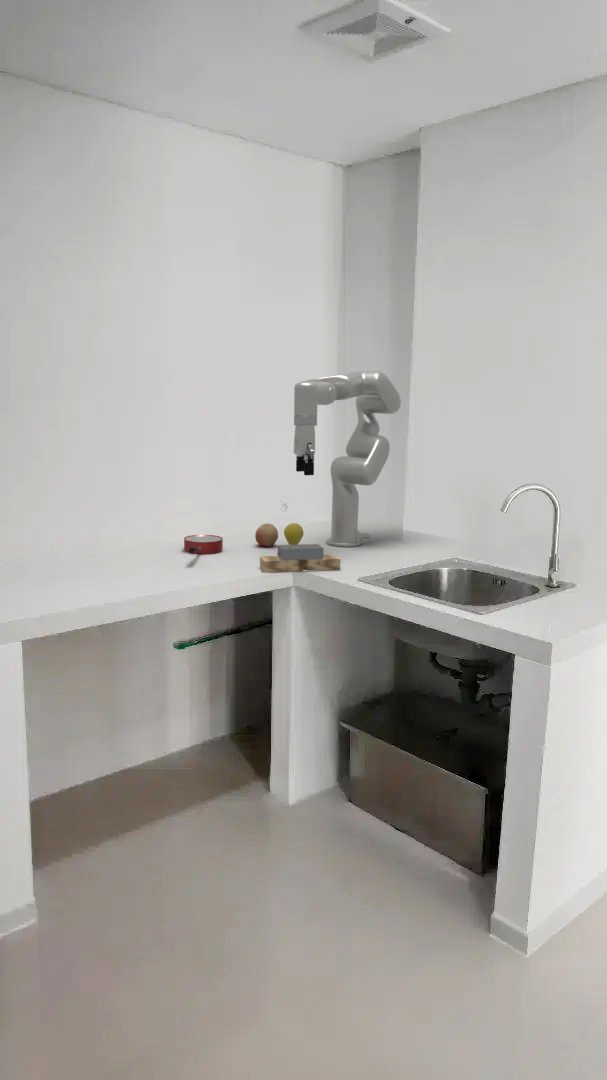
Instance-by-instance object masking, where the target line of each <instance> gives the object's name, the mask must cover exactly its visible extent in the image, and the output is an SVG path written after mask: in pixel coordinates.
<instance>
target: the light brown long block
mask: <svg viewBox="0 0 607 1080" xmlns="http://www.w3.org/2000/svg"><path fill="white" fill-rule="evenodd" d="M259 569H261V570H262V572H263V573H265V572H267V573H289V572H292V573H293V572H304V571H303V570H327V571H341V557H338V556H337V555H335V554H333V553H330V554H325V553H323V559H314V560H281V559H280V558H279V557H278V556H277V555H265V556H264V555H260V556H259Z"/></svg>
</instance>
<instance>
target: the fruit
mask: <svg viewBox="0 0 607 1080" xmlns="http://www.w3.org/2000/svg"><path fill="white" fill-rule="evenodd" d="M254 538H255V541H256V543H257V544H258V545H259V546H260V547H262V546H263V547H264V548H268V547H272V546H274V545H275V544H276V542H277V541H278V539H279V531H278V529H277V527H276V526H274V524H272V523H267V522H266V523H263V524H261V525H260V526H259V527H258V528H257V529H256V530H255V537H254ZM263 547H262V548H263Z"/></svg>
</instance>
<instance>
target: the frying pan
mask: <svg viewBox="0 0 607 1080" xmlns="http://www.w3.org/2000/svg"><path fill="white" fill-rule="evenodd" d="M223 542H224V539H223V537H222V536H219V535H216V534H215V535H212V534H194V535H187V536H184V538H183V550H184V551H185V553H188V554H193V555H201V556H202V555H204V556H205V555H215V554H219V553H222V551H223V549H224V543H223Z"/></svg>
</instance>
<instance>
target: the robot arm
mask: <svg viewBox="0 0 607 1080" xmlns="http://www.w3.org/2000/svg"><path fill="white" fill-rule="evenodd" d="M293 391H294V393H293V395H294V397H293V398H294V399H293V401H294V402H293V406H294V407H293V408H294V409H293V411H294V412H293V426H295V428H294V436H293V437H294V438H293V439H294V440H293V454H294V455H295V456H296V457H295V460H296V461H295V464H296V465H295V472H302V473H303V475H304V476H314V475H315V454H316V429H315V427H316V426H317V427H318V405H319V406H328V405H331V404H333V403H334V402H335V401H344V400H348V399H352V398H356V399H355V406H356V412H357V424H356V426H355V428H354V431H353V432H352V434H351V436H350V438H349V440H348V442H347V444H346V447H345V453H346V455H347V456H346V455H344V456H339V457H338V456H337V457H336V458H334V459H333V460H332V462H331V463H330V464H331V465H330V477H331V483H332V498H331V499H332V500H331V504H332V505H331V525H330V527H331V528H330V529H331V531H330V538H329V537H328V538H327V539H326V544H327V545H330V546H335V547H343V548H344V547H345V548H346V547H348V548H349V547H358V546H361V545H362V539H368V540H369V539H371V534H370V532H369V533H365V532H360V531H358V527H359V526H358V525H359V524H358V522H359V506H360V505H359V504H360V503H359V502H360V496H359V491H358V489H357V487H356V485H359V486H372V485H373V484H374V483H376V482H377V480H378V478H379V476H380V474H381V472H382V470H383V469H384V466H385V464H386V463H387V460H388V458H389V455H390V450H391V448H390V447H391V446H390V442H389V440H388V438H387V437H385V436H383V435H379V433H380V425H379V422H378V420H377V418H376V417H375V414H381V415H382V414H386V415H390V414H391V415H392V414H395V413H396V412H398V411H399V410H400V407H401V403H402V401H401V396H400V393H399V392H398V390H397V389H396V387H395V385H394V384H393V383H392V381H391V380H390V379H389V377H388V376H387V375H386V374H385V373H384V372H382V371H381V370H380V371H379V370H375V371H374V370H357V371H352V372H348V373H344V374H339V375H338V374H337V375H332V376H324V377H317V378H310V379H307V380H306V379H305V380H303V381H300V382H296V383H295V385H294V390H293Z"/></svg>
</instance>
